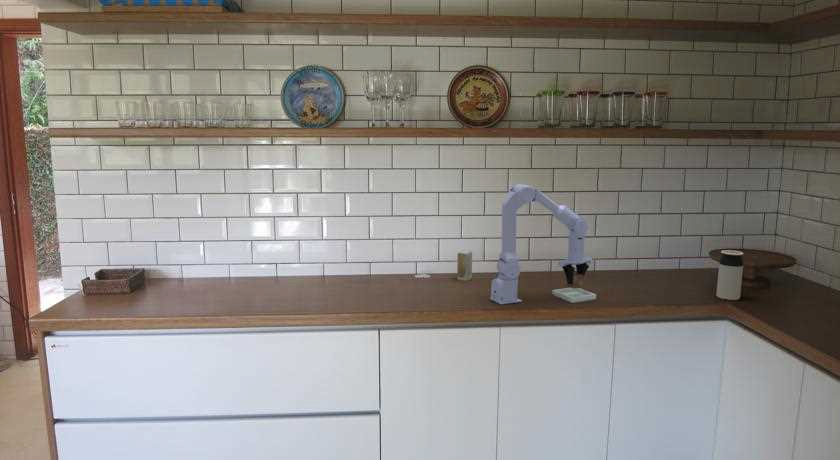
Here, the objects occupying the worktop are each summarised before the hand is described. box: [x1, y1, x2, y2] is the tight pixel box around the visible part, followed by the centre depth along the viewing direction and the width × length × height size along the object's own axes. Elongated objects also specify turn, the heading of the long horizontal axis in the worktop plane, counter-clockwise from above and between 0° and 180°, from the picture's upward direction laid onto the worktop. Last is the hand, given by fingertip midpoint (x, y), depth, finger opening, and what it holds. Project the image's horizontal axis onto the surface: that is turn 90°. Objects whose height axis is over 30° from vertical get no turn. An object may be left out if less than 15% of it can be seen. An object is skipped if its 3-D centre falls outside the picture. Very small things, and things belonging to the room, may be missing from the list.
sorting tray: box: [551, 287, 597, 304], centre depth 213 cm, size 12×12×2 cm
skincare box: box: [456, 250, 473, 282], centre depth 239 cm, size 6×4×12 cm
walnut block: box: [566, 272, 584, 289], centre depth 212 cm, size 4×4×5 cm
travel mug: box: [716, 249, 744, 301], centre depth 212 cm, size 8×8×18 cm
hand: (574, 283), depth 212 cm, fingers closed on walnut block, 4 cm apart
